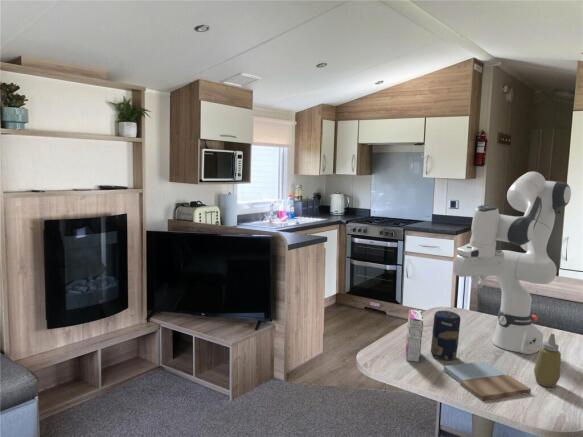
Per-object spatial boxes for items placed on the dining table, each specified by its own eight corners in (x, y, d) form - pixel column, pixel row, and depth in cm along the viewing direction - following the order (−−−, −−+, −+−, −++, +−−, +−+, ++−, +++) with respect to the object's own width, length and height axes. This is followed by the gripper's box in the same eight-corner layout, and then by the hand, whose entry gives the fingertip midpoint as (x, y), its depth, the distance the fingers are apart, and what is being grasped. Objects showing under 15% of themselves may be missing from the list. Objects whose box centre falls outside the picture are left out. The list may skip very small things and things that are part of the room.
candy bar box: (404, 349, 186) (408, 309, 183) (417, 350, 185) (422, 310, 183) (405, 361, 175) (409, 318, 173) (419, 363, 174) (424, 320, 172)
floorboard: (507, 378, 166) (507, 374, 165) (530, 393, 156) (530, 388, 156) (460, 385, 159) (461, 381, 158) (481, 400, 149) (482, 396, 149)
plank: (484, 365, 175) (484, 361, 174) (504, 378, 165) (504, 374, 165) (443, 369, 169) (444, 366, 168) (462, 384, 159) (462, 380, 159)
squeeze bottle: (527, 377, 167) (534, 329, 165) (549, 378, 168) (556, 329, 165) (541, 389, 159) (548, 338, 157) (563, 389, 160) (571, 339, 158)
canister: (456, 353, 184) (461, 309, 182) (456, 363, 175) (461, 317, 173) (430, 349, 187) (435, 305, 185) (429, 358, 178) (434, 312, 176)
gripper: (498, 248, 177) (493, 283, 179) (453, 248, 170) (449, 286, 172) (511, 251, 171) (506, 288, 173) (465, 252, 164) (460, 291, 166)
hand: (477, 287), depth 173 cm, fingers closed
